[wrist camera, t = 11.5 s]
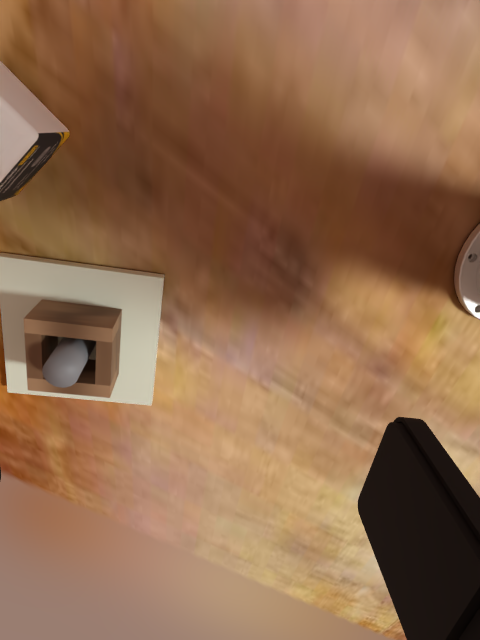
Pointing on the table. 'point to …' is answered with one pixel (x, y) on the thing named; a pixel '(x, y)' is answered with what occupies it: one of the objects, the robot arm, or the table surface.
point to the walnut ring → (80, 324)
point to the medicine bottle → (24, 134)
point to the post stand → (72, 354)
